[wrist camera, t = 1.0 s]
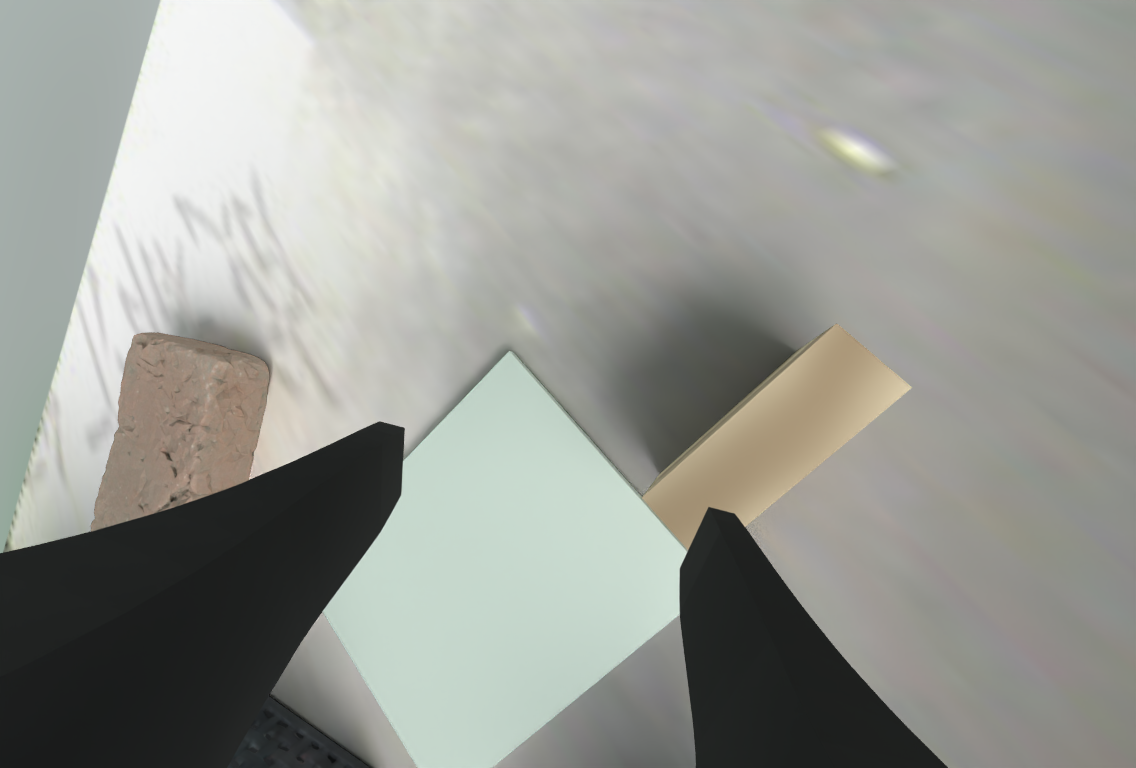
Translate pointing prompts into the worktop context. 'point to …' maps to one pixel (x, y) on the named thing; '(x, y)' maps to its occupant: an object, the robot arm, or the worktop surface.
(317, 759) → the storage bin
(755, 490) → the slab
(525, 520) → the mat
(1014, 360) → the worktop surface
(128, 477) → the brick
